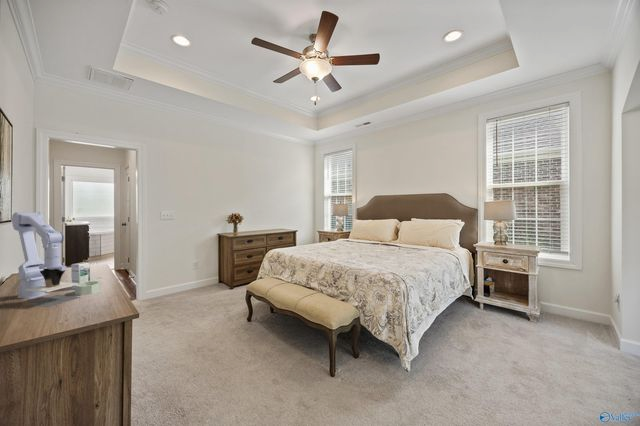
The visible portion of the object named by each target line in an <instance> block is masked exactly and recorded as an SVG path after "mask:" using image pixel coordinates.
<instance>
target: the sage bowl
mask: <svg viewBox="0 0 640 426" xmlns="http://www.w3.org/2000/svg"><path fill="white" fill-rule="evenodd" d="M101 283H102V282H101V280H100V281H99V280H90V282H83V283H79V284H77V285H76V286H75V289H74V296H87V295H88V296H89V295H94V294H96V293H100V291H101V288H102V287H101Z"/></svg>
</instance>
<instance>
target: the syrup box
mask: <svg viewBox="0 0 640 426" xmlns="http://www.w3.org/2000/svg"><path fill="white" fill-rule="evenodd" d="M90 263H91V262H85V261H84V262H83V261H82V262H78V263H72V264H71V265H70V268H71V270H70V272H71V273H70V274H71V283H78V284H79V283H83V282H90V281H91V270H90V269H91V268H90V267H91V264H90ZM75 286H76V285H73V286H71V289H72V290H75Z"/></svg>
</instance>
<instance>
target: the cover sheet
mask: <svg viewBox="0 0 640 426" xmlns="http://www.w3.org/2000/svg"><path fill="white" fill-rule="evenodd" d="M77 284H78V283H72V282H65V281H60V282H59V284H57V285H53V283H52V279H47V280H46V281H45V285H42V286H38V287H33V288H29V289H26V291H37V292H45V293H49V292H53V291H57V290H61V289H65V288H69V287H72V286H73V285H77Z"/></svg>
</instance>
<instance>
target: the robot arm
mask: <svg viewBox="0 0 640 426" xmlns="http://www.w3.org/2000/svg"><path fill="white" fill-rule="evenodd" d="M43 220H44V215H43V214H42V212H40V211H39V212H14V213H12V216H11V222H12V223H11V224H12V227H13V230H15V231H17V232H18V234H19V235H18V236H19V239H20V242H21V247H22V253H23V256H24V262H23V263H21V265H19V266H18V268H17V269H18V273H17V274H18V279H19V280H20V283H19V284H18V296H16V298H18V299H28V300H32V299H36V298H39V297H44V296H47V295H50V293H49V292H37V291H26V289H29V288H33V287H38V286H42V285H46V280H47V279H52V283H53V285H57V284H59V282H61V279H62V276H63V275H64V274H65V272H66V271H67V269H68V267H67V265H63V264H62V244H63V243H64V241H65V238H64V237H65V236H64V233H63V232H62V231H56V229H54V228H53V227H52V226H51V225H50V224H47V223H45V222H44V221H43ZM34 231H35V232H36V234H37V235H38V236H39V237H40V241H41V244H42V248H43V250H44V251H43V252H44V254H43V256H44V259H43V260H42V259H41V258H40V257H39V252H38V249H37V242H36V240H35V239H36V238H35V234H34Z"/></svg>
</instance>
